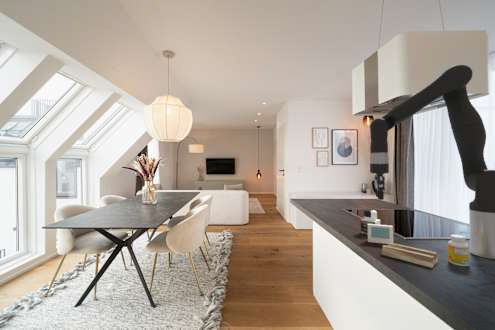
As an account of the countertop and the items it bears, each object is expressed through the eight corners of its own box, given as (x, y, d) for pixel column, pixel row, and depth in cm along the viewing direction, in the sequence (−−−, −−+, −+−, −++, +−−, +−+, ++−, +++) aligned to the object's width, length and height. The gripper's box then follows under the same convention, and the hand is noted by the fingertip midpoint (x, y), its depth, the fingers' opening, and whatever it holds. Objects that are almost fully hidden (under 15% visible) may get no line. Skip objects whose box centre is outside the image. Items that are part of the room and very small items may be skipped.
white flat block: (367, 240, 109) (367, 223, 109) (392, 243, 105) (392, 225, 105) (368, 242, 107) (367, 224, 107) (393, 244, 103) (393, 226, 103)
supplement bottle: (448, 259, 86) (447, 233, 87) (468, 262, 83) (467, 235, 83) (448, 263, 82) (448, 236, 82) (469, 267, 79) (469, 239, 79)
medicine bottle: (360, 233, 121) (360, 210, 121) (366, 230, 125) (366, 208, 126) (375, 236, 115) (374, 212, 115) (380, 233, 120) (380, 210, 120)
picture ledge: (389, 249, 97) (389, 241, 97) (437, 261, 84) (437, 252, 85) (381, 254, 92) (381, 246, 92) (432, 267, 79) (432, 258, 79)
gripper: (368, 163, 114) (369, 196, 113) (371, 162, 101) (371, 200, 101) (386, 162, 110) (387, 196, 110) (391, 162, 97) (391, 201, 97)
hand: (379, 198), depth 105 cm, fingers open, 8 cm apart
